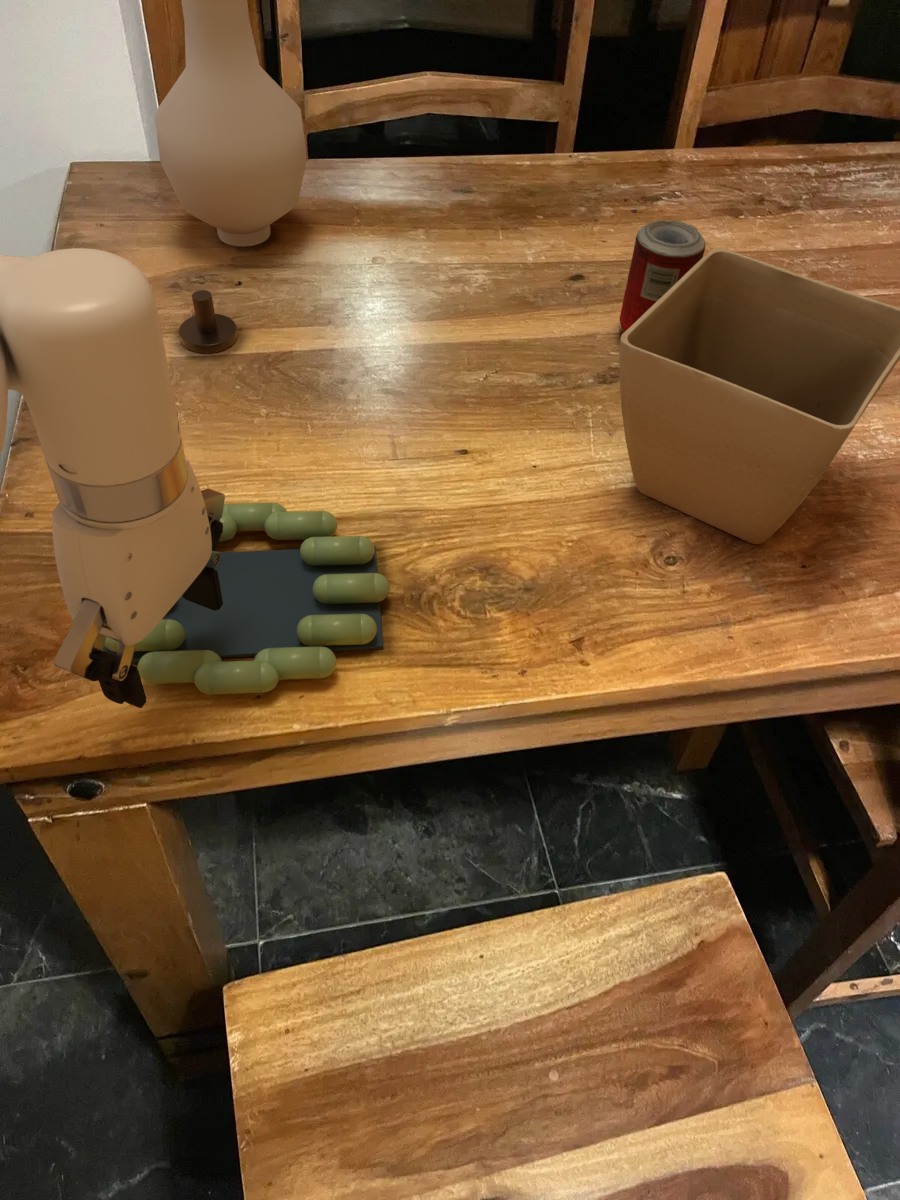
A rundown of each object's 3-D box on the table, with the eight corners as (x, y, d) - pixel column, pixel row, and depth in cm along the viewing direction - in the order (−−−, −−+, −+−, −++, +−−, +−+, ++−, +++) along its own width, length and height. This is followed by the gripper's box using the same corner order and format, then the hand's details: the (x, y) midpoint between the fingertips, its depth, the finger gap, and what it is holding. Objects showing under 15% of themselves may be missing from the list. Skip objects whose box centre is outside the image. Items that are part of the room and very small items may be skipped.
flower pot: (583, 494, 86) (615, 337, 74) (674, 395, 97) (715, 242, 84) (777, 587, 80) (849, 432, 67) (851, 470, 90) (926, 316, 77)
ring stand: (178, 354, 98) (169, 311, 94) (182, 321, 102) (174, 280, 98) (236, 352, 98) (229, 310, 95) (238, 320, 102) (232, 279, 98)
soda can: (682, 357, 101) (711, 251, 92) (617, 352, 101) (639, 246, 92) (677, 321, 106) (704, 217, 97) (615, 316, 106) (636, 212, 97)
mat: (95, 665, 71) (94, 662, 71) (113, 561, 78) (112, 557, 78) (383, 649, 74) (383, 645, 73) (375, 548, 81) (375, 545, 80)
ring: (77, 705, 68) (68, 686, 67) (118, 519, 81) (112, 499, 79) (393, 694, 70) (393, 675, 69) (386, 514, 83) (386, 494, 81)
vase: (332, 253, 112) (317, -15, 91) (198, 280, 107) (149, 3, 86) (285, 191, 122) (261, -64, 101) (160, 213, 117) (107, -50, 95)
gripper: (151, 372, 61) (188, 554, 74) (-38, 541, 50) (44, 720, 63) (252, 405, 59) (272, 585, 72) (80, 587, 48) (139, 761, 61)
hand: (166, 648), depth 67 cm, fingers open, 9 cm apart
